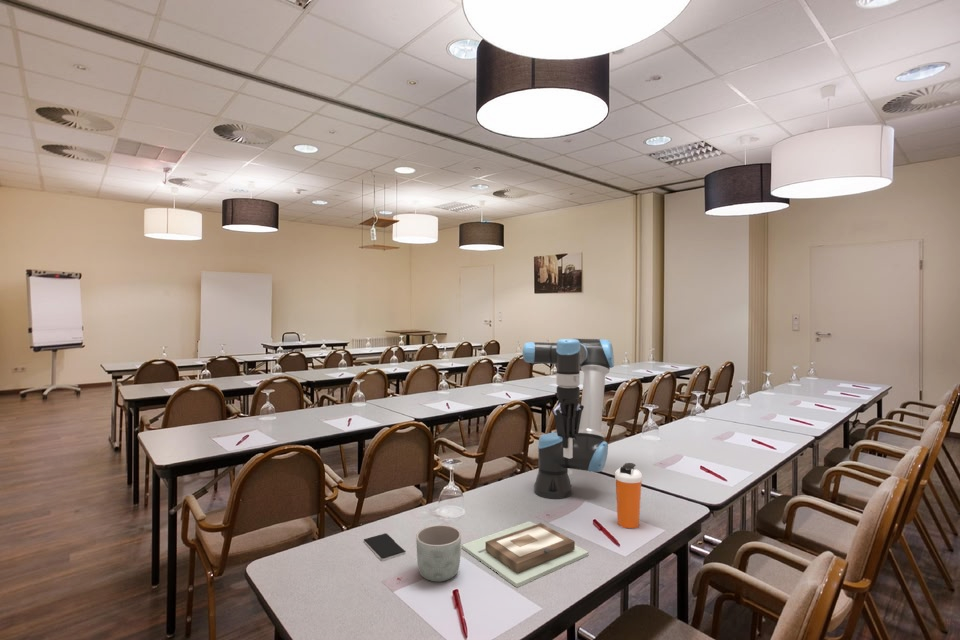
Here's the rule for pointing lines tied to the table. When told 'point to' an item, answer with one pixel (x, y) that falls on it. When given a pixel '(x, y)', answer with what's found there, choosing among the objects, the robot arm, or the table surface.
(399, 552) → the smartphone
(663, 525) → the table surface
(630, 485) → the shaker bottle
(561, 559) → the wall panel
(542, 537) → the frame
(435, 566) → the planter
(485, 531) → the table surface
